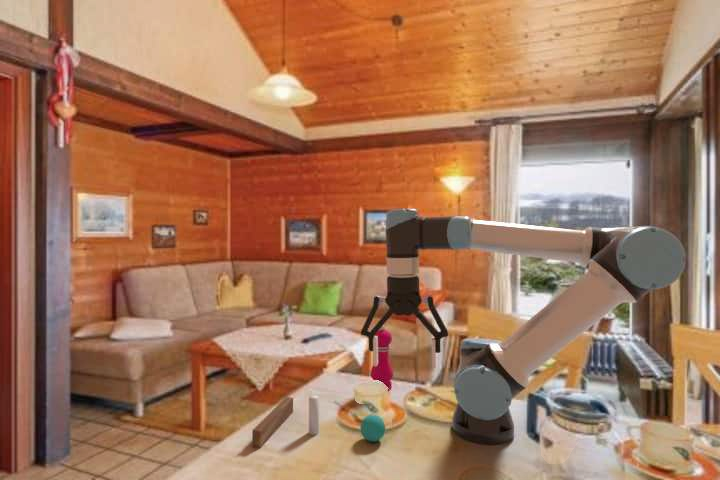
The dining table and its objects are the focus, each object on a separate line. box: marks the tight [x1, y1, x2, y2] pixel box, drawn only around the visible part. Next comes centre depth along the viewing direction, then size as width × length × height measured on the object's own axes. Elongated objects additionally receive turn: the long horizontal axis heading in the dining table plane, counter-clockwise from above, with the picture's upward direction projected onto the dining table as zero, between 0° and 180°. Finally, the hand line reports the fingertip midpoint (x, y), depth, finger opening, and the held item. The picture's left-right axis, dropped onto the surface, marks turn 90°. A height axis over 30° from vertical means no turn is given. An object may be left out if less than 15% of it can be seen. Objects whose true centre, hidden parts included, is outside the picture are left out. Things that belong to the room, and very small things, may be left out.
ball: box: [359, 414, 386, 443], centre depth 105 cm, size 6×6×6 cm
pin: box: [308, 394, 320, 436], centre depth 108 cm, size 2×2×9 cm
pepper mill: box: [370, 324, 394, 391], centre depth 139 cm, size 7×7×20 cm
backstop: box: [251, 396, 294, 449], centre depth 111 cm, size 2×20×4 cm, turn 167°
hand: (404, 365), depth 102 cm, fingers open, 13 cm apart
